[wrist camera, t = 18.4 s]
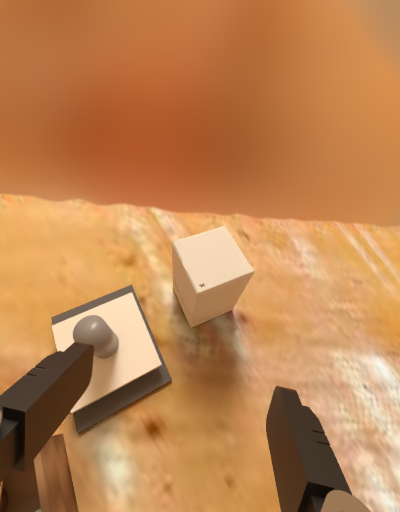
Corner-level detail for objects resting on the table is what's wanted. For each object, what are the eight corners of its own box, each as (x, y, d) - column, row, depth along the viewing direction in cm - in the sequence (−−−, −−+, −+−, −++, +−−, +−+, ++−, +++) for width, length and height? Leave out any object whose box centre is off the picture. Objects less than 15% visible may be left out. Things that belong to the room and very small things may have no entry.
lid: (162, 366, 38) (158, 354, 29) (77, 412, 34) (43, 415, 25) (133, 297, 44) (123, 269, 35) (58, 329, 40) (24, 308, 31)
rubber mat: (171, 380, 38) (171, 379, 37) (79, 432, 33) (77, 433, 33) (131, 286, 45) (131, 284, 45) (53, 318, 41) (51, 317, 41)
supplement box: (234, 310, 45) (257, 272, 32) (190, 329, 42) (196, 296, 30) (213, 270, 49) (226, 223, 36) (171, 285, 46) (170, 240, 34)
